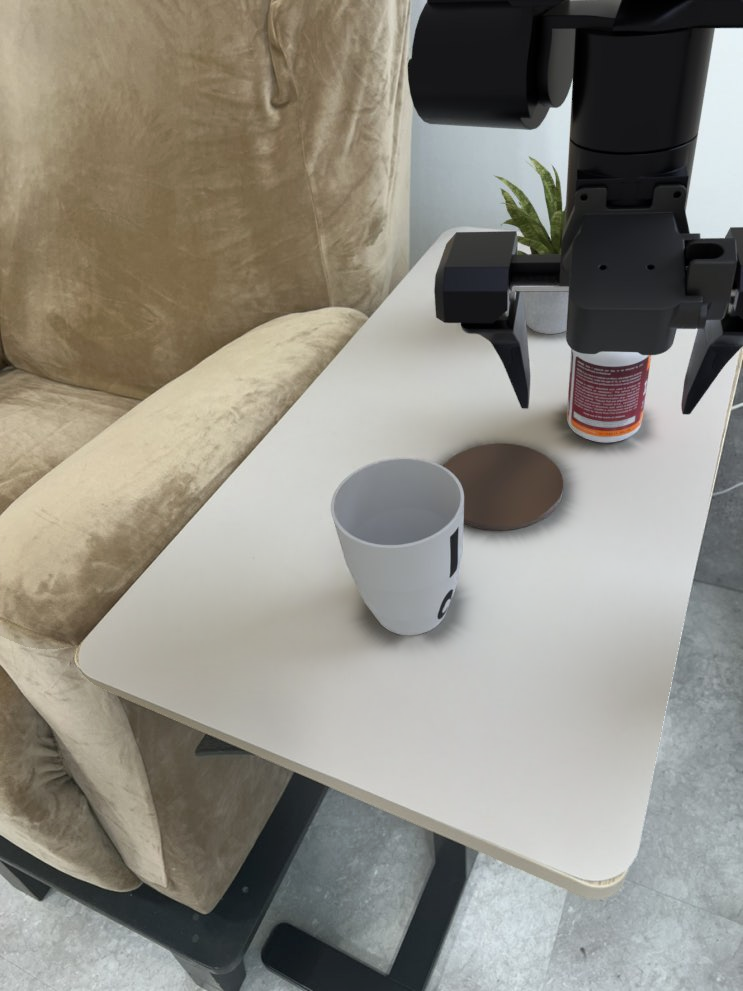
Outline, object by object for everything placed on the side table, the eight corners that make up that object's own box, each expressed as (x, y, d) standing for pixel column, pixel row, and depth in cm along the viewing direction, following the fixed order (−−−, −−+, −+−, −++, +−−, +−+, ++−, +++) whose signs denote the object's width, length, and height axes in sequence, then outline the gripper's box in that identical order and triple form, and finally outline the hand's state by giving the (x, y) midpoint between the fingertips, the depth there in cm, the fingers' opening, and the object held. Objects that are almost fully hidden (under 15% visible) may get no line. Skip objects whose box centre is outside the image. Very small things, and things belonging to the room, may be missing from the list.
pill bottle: (655, 435, 64) (674, 316, 56) (585, 452, 63) (596, 334, 56) (619, 395, 68) (633, 281, 61) (554, 411, 68) (560, 297, 60)
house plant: (625, 283, 83) (643, 123, 73) (645, 349, 73) (670, 176, 63) (493, 290, 86) (491, 136, 75) (494, 356, 75) (493, 189, 65)
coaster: (565, 450, 64) (565, 445, 63) (560, 535, 56) (560, 530, 56) (446, 444, 66) (445, 440, 66) (426, 525, 59) (426, 520, 58)
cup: (472, 651, 50) (467, 543, 43) (348, 656, 50) (325, 551, 44) (466, 560, 56) (460, 453, 49) (355, 566, 56) (335, 461, 50)
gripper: (403, 207, 32) (427, 486, 42) (908, 194, 28) (798, 509, 38) (444, 122, 40) (455, 375, 50) (841, 102, 36) (765, 383, 46)
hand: (603, 407), depth 46 cm, fingers open, 9 cm apart
